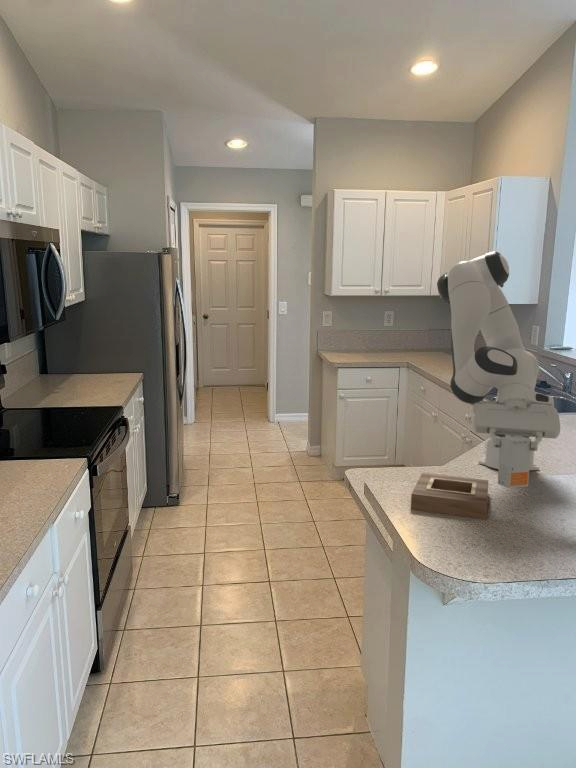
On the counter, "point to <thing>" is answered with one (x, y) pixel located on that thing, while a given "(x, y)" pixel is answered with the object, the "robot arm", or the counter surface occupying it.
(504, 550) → the counter surface
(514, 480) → the skincare box
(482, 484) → the walnut socket board
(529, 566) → the counter surface
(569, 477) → the counter surface
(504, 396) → the robot arm
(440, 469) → the counter surface
